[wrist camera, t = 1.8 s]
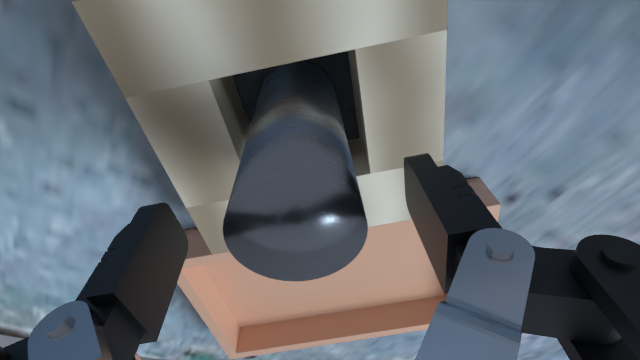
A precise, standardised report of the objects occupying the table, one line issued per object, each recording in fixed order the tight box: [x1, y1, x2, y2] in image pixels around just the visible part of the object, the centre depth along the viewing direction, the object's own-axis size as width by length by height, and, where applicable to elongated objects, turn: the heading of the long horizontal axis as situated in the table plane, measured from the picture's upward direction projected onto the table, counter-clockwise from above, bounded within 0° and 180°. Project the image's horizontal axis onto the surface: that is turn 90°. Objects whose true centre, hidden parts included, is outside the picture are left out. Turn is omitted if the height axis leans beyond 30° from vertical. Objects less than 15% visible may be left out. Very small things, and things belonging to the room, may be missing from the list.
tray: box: [177, 177, 501, 359], centre depth 26 cm, size 22×13×3 cm, turn 101°
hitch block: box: [72, 0, 448, 254], centre depth 17 cm, size 14×14×4 cm
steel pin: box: [223, 61, 368, 281], centre depth 15 cm, size 4×4×11 cm
